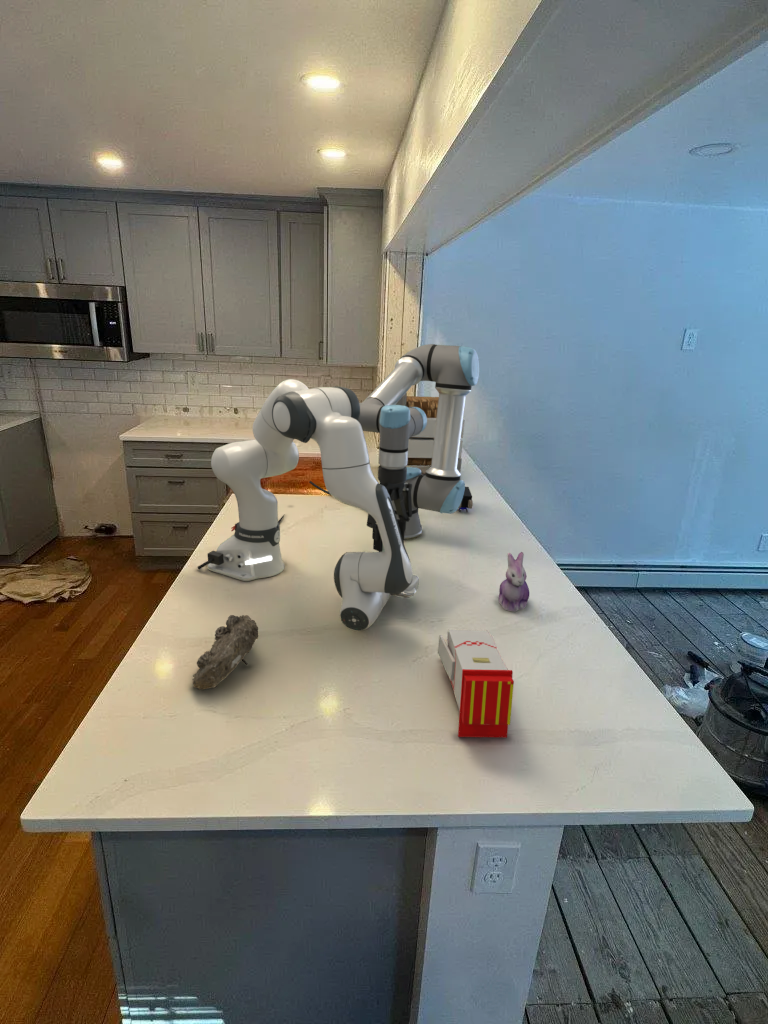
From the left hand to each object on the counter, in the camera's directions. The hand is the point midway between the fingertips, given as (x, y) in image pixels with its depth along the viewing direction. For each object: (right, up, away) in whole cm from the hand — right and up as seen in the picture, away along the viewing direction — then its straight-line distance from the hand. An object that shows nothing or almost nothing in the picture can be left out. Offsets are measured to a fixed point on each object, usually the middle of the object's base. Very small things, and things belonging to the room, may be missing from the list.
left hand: (388, 568), depth 159 cm
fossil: (-35, -17, -34) cm, 52 cm away
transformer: (+16, +35, +116) cm, 123 cm away
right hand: (0, +6, -3) cm, 7 cm away
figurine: (+34, -10, -4) cm, 36 cm away
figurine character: (+30, +17, +70) cm, 78 cm away
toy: (+17, -22, -40) cm, 49 cm away
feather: (-39, +13, +51) cm, 65 cm away
